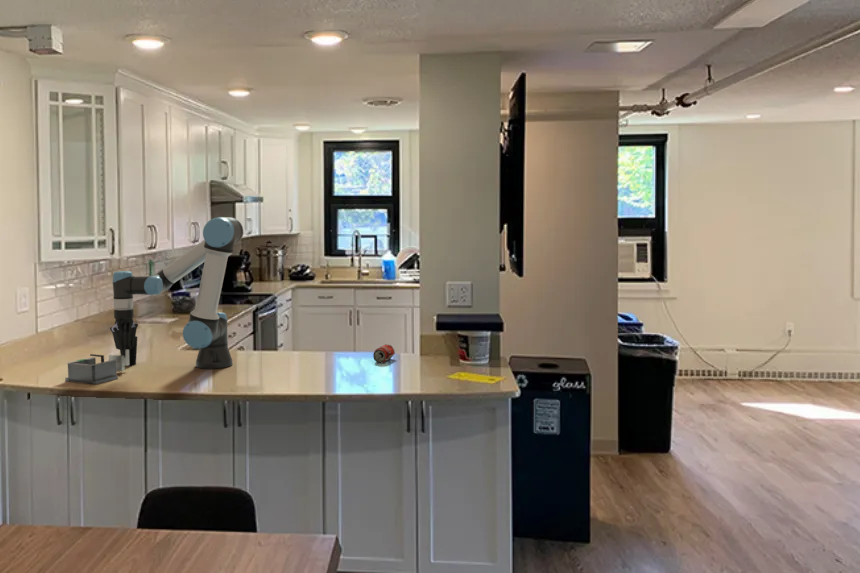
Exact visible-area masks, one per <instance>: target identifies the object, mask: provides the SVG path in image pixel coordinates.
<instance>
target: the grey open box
mask: <svg viewBox="0 0 860 573" xmlns="http://www.w3.org/2000/svg"><path fill="white" fill-rule="evenodd" d="M96 359H97V358H96V356H90V357H86V358H81V359H76V360H73V361H68V362H67V375H68V376H67V377H65V379H64V380H65V382H69V383H71V382H72V383H81V384H85V385H86V384H88V385H95V386H96V385H99V384H104V383H106V382H112V381H115V380H118V379H119V376H118V374H117V370H116V360H110V361H109V360H107V361H104V362H101V361H100V362H97V361H96Z"/></svg>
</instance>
